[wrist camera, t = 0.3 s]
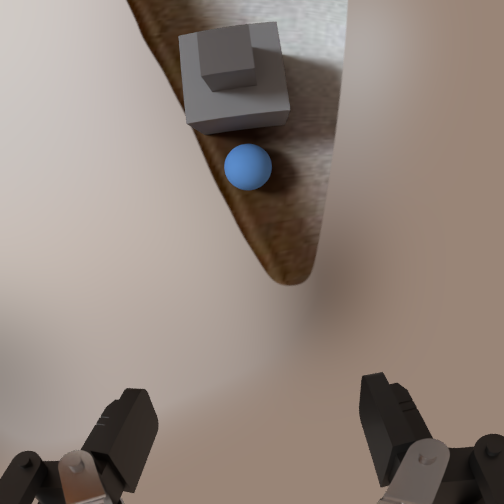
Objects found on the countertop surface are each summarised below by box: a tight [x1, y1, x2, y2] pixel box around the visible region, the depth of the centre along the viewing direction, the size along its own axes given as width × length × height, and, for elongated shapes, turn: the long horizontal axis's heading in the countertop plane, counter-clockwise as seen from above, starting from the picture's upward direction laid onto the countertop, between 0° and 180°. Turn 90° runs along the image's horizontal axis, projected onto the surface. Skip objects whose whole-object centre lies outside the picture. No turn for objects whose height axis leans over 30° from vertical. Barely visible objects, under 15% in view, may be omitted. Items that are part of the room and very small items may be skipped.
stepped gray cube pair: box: [179, 22, 290, 135], centre depth 27 cm, size 9×9×14 cm
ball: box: [224, 144, 272, 190], centre depth 33 cm, size 5×5×5 cm
